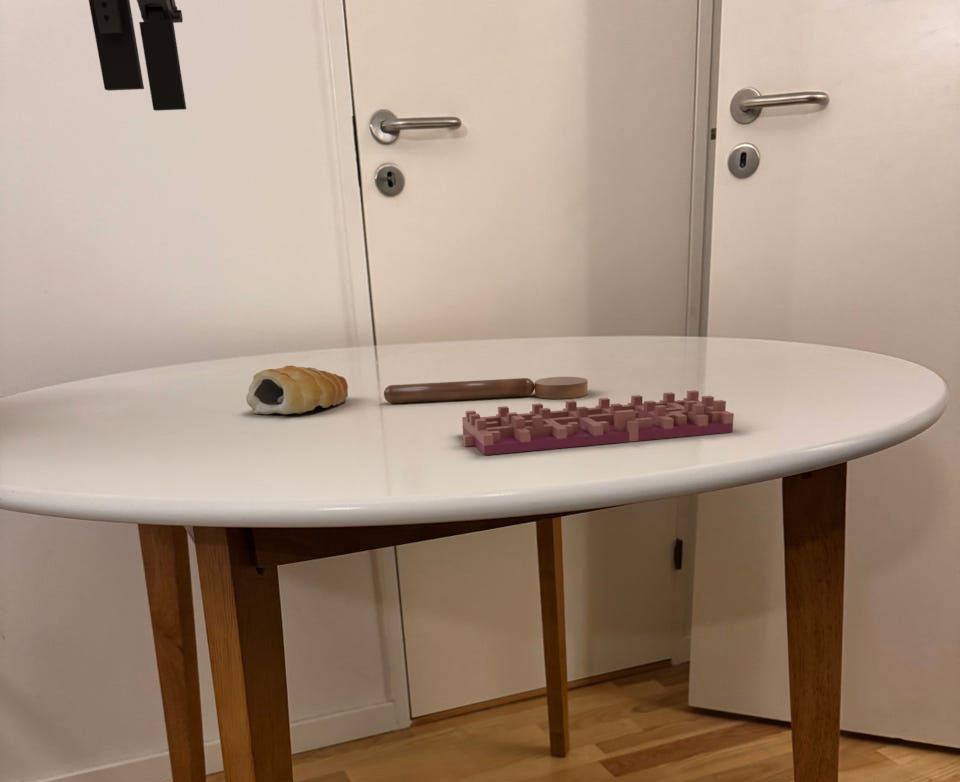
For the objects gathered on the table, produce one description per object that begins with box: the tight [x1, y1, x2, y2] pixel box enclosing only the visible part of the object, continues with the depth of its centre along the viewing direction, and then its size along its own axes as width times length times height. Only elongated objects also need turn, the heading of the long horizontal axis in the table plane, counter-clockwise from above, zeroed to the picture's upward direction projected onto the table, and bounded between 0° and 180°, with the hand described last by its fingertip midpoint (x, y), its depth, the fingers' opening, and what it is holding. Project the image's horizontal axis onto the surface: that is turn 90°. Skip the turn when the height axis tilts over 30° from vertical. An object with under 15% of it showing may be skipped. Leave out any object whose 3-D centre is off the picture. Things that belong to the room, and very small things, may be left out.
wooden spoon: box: [383, 376, 589, 404], centre depth 84 cm, size 18×5×2 cm, turn 93°
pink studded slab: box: [461, 390, 735, 456], centre depth 68 cm, size 7×19×2 cm, turn 103°
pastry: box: [245, 365, 349, 415], centre depth 83 cm, size 9×7×4 cm
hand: (149, 100), depth 76 cm, fingers open, 13 cm apart
